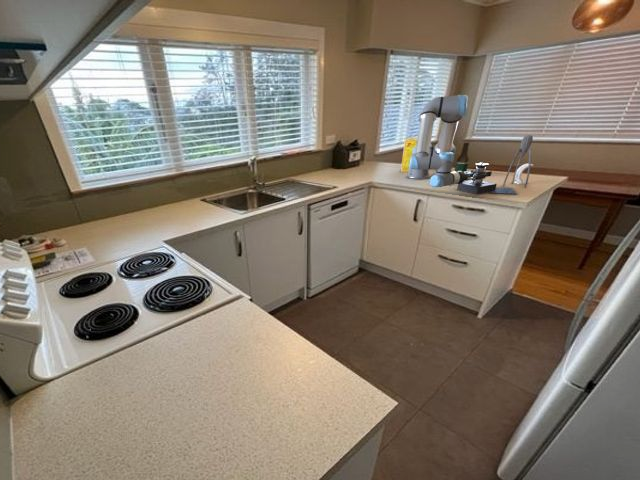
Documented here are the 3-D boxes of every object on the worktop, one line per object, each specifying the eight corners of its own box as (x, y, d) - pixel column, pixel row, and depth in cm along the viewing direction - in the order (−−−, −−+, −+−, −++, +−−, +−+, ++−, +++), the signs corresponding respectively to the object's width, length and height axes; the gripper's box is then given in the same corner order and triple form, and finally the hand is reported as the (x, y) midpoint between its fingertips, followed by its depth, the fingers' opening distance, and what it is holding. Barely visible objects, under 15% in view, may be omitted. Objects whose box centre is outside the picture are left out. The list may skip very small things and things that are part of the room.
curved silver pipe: (527, 184, 188) (533, 164, 183) (516, 184, 189) (522, 165, 184) (523, 182, 192) (528, 163, 187) (512, 182, 193) (518, 163, 188)
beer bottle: (454, 178, 214) (462, 143, 204) (451, 176, 221) (458, 142, 210) (467, 178, 212) (475, 143, 202) (463, 176, 219) (470, 141, 208)
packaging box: (404, 168, 262) (408, 137, 251) (425, 168, 253) (430, 137, 242) (400, 171, 250) (404, 140, 239) (422, 172, 241) (427, 139, 230)
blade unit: (468, 188, 189) (475, 161, 181) (480, 189, 186) (487, 161, 179) (469, 191, 184) (476, 163, 176) (482, 191, 181) (489, 163, 174)
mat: (487, 188, 187) (487, 187, 187) (511, 188, 182) (511, 187, 182) (491, 193, 176) (491, 192, 176) (516, 194, 171) (517, 193, 171)
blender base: (474, 186, 192) (475, 179, 190) (494, 191, 180) (496, 183, 178) (456, 189, 190) (458, 182, 188) (476, 194, 177) (478, 187, 176)
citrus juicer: (526, 187, 182) (543, 135, 169) (509, 188, 182) (524, 136, 169) (512, 183, 192) (527, 133, 179) (496, 184, 192) (510, 135, 179)
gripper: (441, 181, 186) (471, 176, 191) (467, 187, 171) (498, 181, 175) (444, 169, 183) (474, 164, 188) (470, 174, 167) (502, 168, 172)
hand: (486, 173), depth 182 cm, fingers closed on blade unit, 5 cm apart
